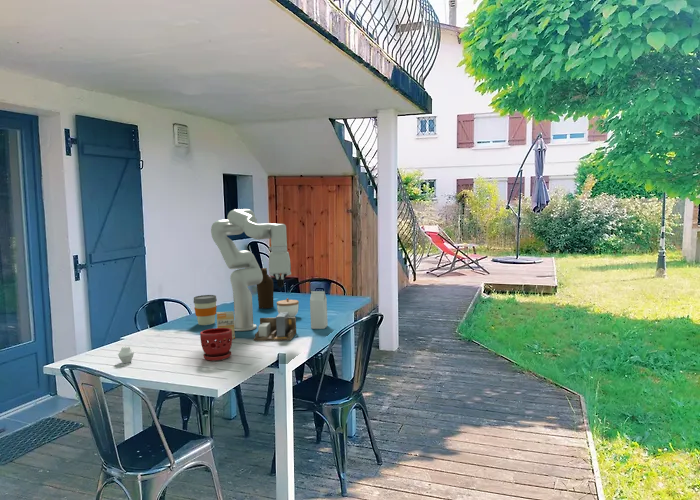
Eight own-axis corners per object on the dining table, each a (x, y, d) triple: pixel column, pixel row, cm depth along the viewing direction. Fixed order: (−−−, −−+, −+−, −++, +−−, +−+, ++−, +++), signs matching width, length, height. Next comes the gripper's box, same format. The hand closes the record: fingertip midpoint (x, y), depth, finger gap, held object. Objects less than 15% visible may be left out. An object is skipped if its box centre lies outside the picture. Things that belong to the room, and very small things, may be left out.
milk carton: (324, 329, 263) (322, 292, 261) (311, 329, 264) (309, 292, 263) (327, 326, 270) (326, 290, 268) (314, 325, 271) (313, 290, 270)
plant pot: (239, 356, 220) (238, 329, 219) (213, 364, 210) (211, 335, 209) (221, 351, 228) (220, 325, 227) (195, 359, 218) (193, 331, 217)
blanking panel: (276, 337, 246) (275, 316, 245) (281, 332, 256) (280, 312, 255) (285, 337, 246) (284, 316, 245) (289, 332, 255) (288, 312, 255)
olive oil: (277, 306, 327) (275, 267, 325) (263, 309, 320) (261, 269, 318) (268, 304, 335) (266, 266, 333) (254, 307, 328) (252, 268, 326)
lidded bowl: (273, 319, 290) (273, 300, 289) (282, 314, 303) (281, 296, 302) (295, 319, 287) (294, 300, 287) (302, 315, 300) (301, 296, 299)
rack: (253, 340, 245) (252, 324, 244) (261, 333, 259) (260, 317, 258) (290, 340, 243) (289, 323, 243) (296, 332, 257) (295, 317, 257)
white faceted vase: (136, 359, 221) (135, 343, 220) (131, 364, 215) (130, 347, 214) (122, 360, 221) (121, 344, 220) (116, 364, 214) (115, 348, 214)
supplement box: (217, 340, 248) (216, 313, 247) (217, 338, 253) (216, 312, 252) (235, 338, 250) (233, 312, 249) (234, 336, 255) (233, 310, 254)
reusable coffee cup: (214, 325, 281) (213, 298, 280) (191, 326, 281) (190, 299, 280) (220, 320, 294) (218, 294, 292) (198, 321, 294) (196, 295, 292)
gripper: (262, 250, 244) (263, 288, 246) (292, 250, 243) (294, 288, 244) (266, 249, 252) (267, 286, 253) (296, 248, 250) (297, 285, 252)
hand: (280, 287), depth 249 cm, fingers closed
